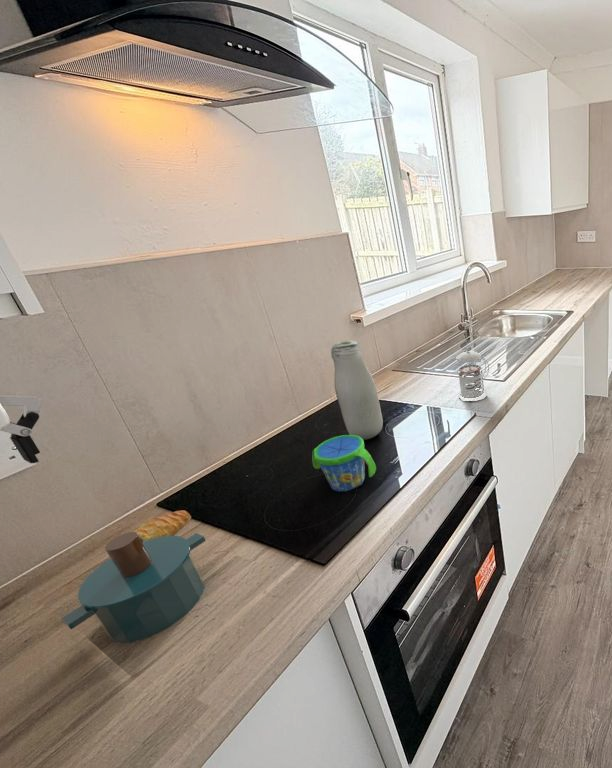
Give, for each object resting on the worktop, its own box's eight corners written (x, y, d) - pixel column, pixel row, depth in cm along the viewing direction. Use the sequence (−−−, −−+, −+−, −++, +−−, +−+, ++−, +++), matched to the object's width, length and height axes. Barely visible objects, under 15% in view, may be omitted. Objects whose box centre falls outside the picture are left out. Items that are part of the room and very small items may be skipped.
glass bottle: (373, 424, 122) (352, 333, 111) (392, 434, 116) (372, 339, 105) (342, 438, 116) (316, 343, 105) (360, 450, 109) (335, 350, 98)
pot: (72, 641, 63) (43, 602, 60) (196, 556, 78) (179, 521, 75) (110, 676, 58) (81, 635, 55) (236, 578, 73) (219, 541, 69)
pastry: (180, 514, 90) (173, 500, 88) (200, 521, 88) (193, 506, 86) (130, 545, 82) (122, 530, 81) (151, 553, 80) (142, 538, 78)
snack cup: (390, 476, 98) (382, 439, 94) (359, 504, 89) (348, 465, 85) (340, 465, 104) (330, 429, 100) (306, 490, 95) (294, 452, 91)
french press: (452, 395, 138) (442, 322, 128) (481, 385, 144) (474, 315, 134) (468, 405, 130) (458, 328, 120) (498, 394, 136) (491, 320, 126)
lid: (64, 592, 62) (41, 559, 60) (165, 531, 73) (150, 501, 71) (106, 626, 56) (83, 591, 54) (209, 554, 67) (194, 523, 65)
